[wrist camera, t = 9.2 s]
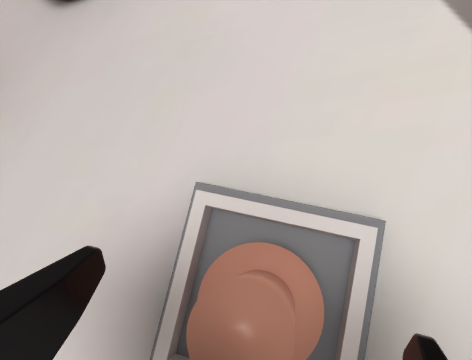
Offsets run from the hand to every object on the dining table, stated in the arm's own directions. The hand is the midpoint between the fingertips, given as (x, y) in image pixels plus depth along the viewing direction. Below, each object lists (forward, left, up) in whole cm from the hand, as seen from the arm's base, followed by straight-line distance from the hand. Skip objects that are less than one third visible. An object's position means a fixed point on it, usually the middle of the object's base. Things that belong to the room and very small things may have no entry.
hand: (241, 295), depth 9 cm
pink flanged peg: (-1, -1, -11) cm, 11 cm away
